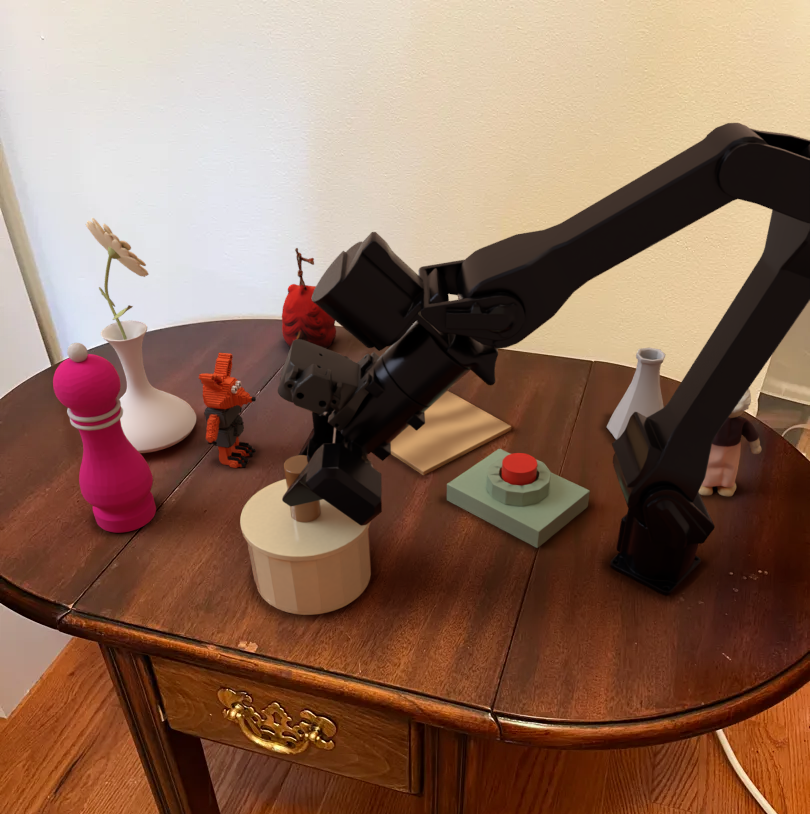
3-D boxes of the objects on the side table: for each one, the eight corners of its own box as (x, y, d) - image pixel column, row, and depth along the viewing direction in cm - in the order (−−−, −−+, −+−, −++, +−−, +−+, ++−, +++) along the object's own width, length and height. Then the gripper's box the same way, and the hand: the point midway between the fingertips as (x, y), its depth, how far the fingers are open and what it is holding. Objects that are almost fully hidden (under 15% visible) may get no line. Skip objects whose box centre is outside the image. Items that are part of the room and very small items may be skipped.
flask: (663, 414, 102) (679, 339, 96) (672, 447, 97) (689, 370, 90) (603, 412, 103) (615, 338, 97) (608, 445, 98) (621, 368, 91)
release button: (543, 475, 87) (544, 461, 86) (522, 491, 85) (523, 477, 84) (515, 462, 89) (516, 448, 88) (494, 477, 87) (495, 463, 86)
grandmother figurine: (739, 476, 92) (768, 373, 84) (751, 497, 89) (782, 393, 81) (669, 479, 92) (692, 376, 84) (679, 500, 89) (704, 396, 81)
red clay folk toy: (341, 335, 121) (333, 231, 111) (331, 358, 115) (322, 251, 106) (289, 333, 121) (277, 229, 112) (277, 356, 116) (263, 249, 106)
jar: (394, 571, 82) (392, 514, 77) (309, 633, 76) (301, 576, 71) (317, 523, 88) (310, 468, 83) (232, 577, 82) (220, 521, 77)
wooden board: (511, 430, 100) (511, 426, 100) (423, 475, 94) (423, 471, 93) (434, 386, 109) (434, 382, 108) (348, 425, 102) (347, 421, 102)
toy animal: (251, 481, 94) (235, 386, 86) (206, 474, 95) (186, 380, 87) (277, 442, 100) (264, 350, 92) (235, 436, 101) (218, 345, 93)
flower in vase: (207, 449, 99) (163, 238, 83) (108, 471, 96) (42, 257, 80) (187, 397, 108) (144, 198, 92) (96, 416, 105) (35, 214, 89)
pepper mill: (91, 542, 86) (30, 367, 73) (92, 501, 92) (36, 332, 79) (162, 529, 88) (115, 355, 75) (159, 489, 93) (115, 321, 80)
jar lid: (398, 519, 78) (396, 460, 73) (301, 586, 71) (293, 524, 67) (311, 470, 84) (305, 412, 80) (215, 527, 77) (202, 467, 73)
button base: (587, 507, 89) (592, 476, 86) (537, 548, 84) (540, 517, 81) (498, 464, 95) (500, 434, 93) (446, 500, 90) (446, 470, 88)
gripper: (337, 267, 72) (229, 385, 79) (325, 375, 57) (194, 507, 64) (430, 348, 77) (320, 452, 84) (440, 466, 62) (306, 579, 69)
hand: (287, 491), depth 75 cm, fingers closed on jar lid, 3 cm apart
